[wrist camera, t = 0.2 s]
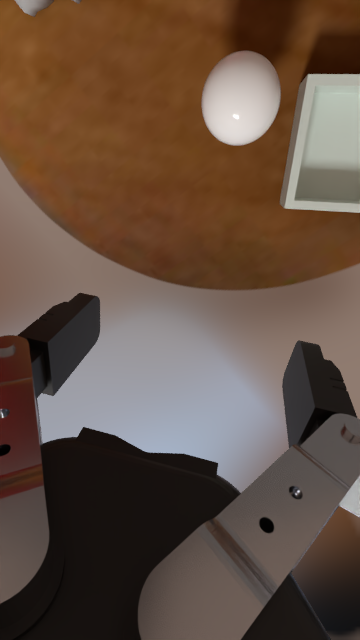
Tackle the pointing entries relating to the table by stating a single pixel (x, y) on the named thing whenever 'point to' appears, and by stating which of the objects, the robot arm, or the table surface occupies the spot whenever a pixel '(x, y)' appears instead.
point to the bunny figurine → (35, 5)
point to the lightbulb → (241, 97)
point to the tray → (325, 146)
